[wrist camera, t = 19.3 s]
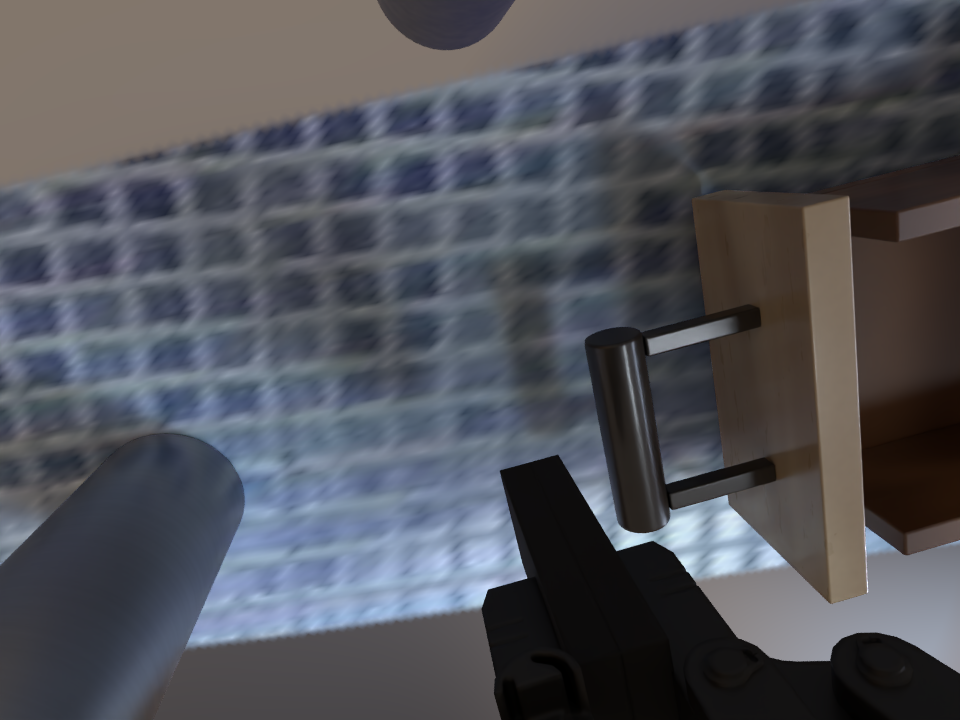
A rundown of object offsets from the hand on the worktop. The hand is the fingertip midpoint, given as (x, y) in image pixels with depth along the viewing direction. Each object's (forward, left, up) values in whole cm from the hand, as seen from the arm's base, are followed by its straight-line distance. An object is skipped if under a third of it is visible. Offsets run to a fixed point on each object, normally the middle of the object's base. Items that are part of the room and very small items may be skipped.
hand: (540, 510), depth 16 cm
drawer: (-8, +8, -6) cm, 13 cm away
